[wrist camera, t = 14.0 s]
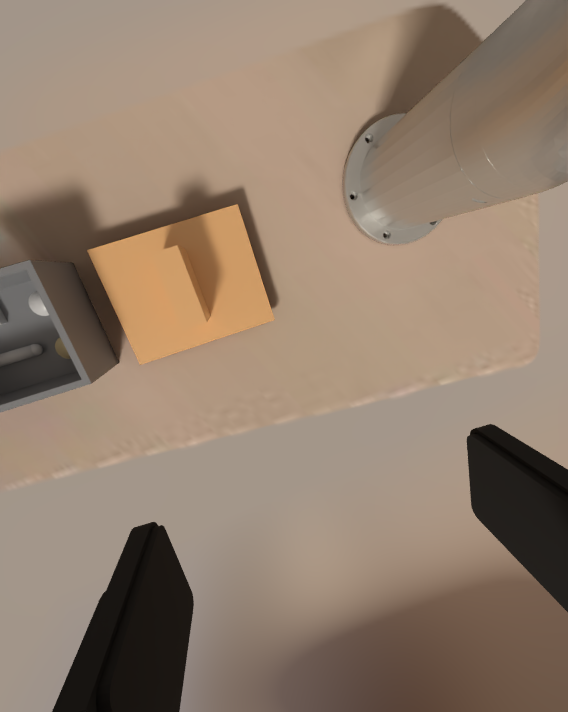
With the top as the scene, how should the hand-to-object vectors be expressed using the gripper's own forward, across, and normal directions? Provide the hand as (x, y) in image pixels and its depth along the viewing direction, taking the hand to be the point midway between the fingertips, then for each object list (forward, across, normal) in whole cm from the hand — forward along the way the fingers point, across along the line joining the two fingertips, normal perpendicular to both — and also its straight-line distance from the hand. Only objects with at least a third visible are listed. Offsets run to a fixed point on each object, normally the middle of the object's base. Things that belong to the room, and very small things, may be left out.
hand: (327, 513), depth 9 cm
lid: (+28, +6, -7) cm, 30 cm away
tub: (+28, +23, -6) cm, 37 cm away
